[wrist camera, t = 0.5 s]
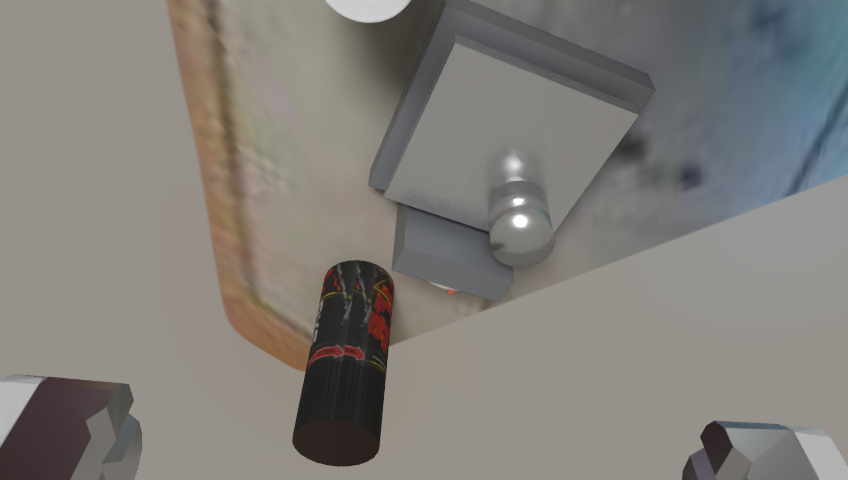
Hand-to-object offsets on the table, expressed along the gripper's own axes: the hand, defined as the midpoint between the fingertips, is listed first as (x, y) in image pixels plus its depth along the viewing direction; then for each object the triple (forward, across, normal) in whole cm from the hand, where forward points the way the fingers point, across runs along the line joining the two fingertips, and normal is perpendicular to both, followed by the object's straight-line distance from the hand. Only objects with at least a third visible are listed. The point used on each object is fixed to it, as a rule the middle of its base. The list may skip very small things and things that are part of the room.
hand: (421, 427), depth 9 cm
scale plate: (+32, -6, +12) cm, 35 cm away
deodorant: (+37, +3, +29) cm, 47 cm away
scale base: (+35, -6, +14) cm, 38 cm away
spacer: (+32, -8, +16) cm, 36 cm away
